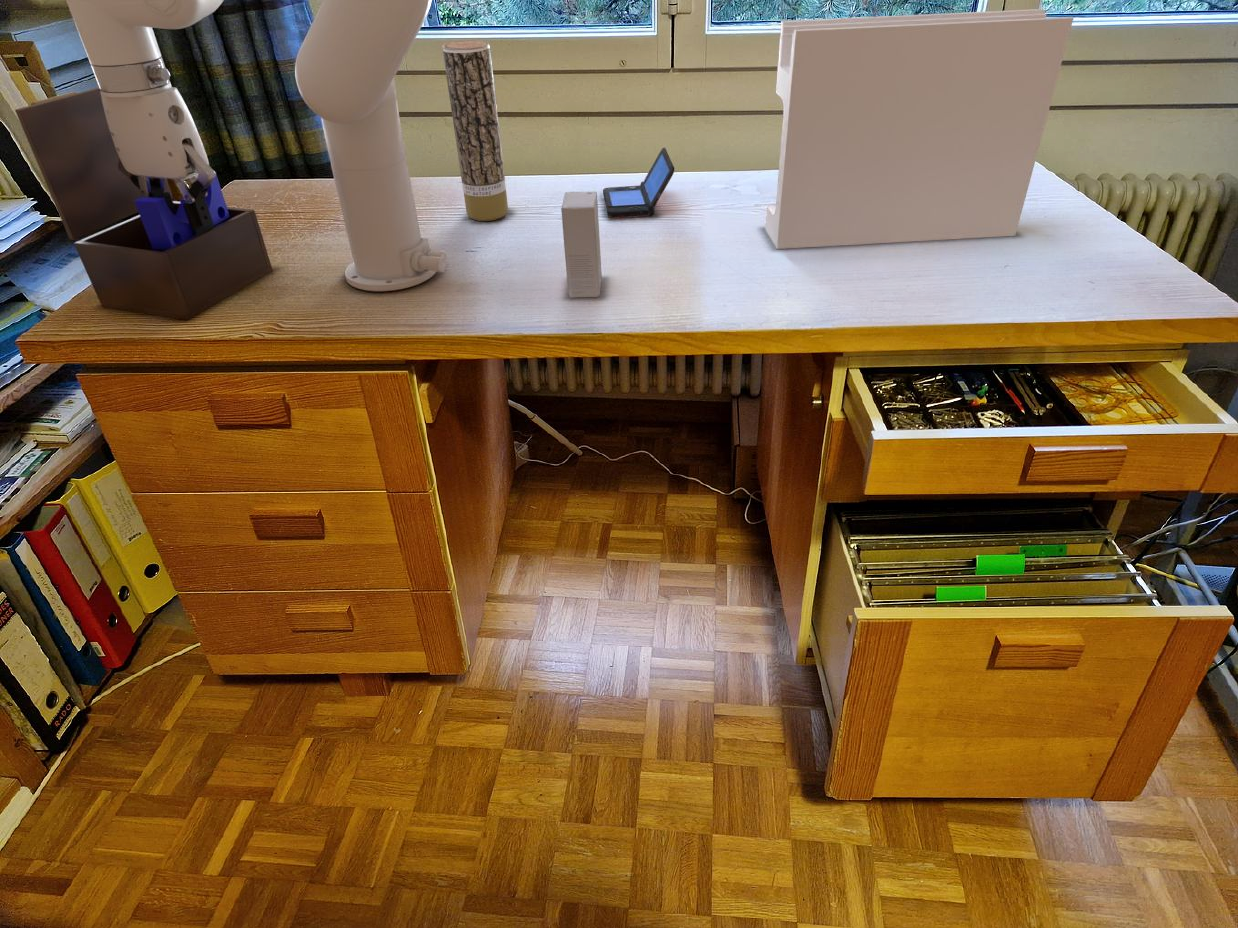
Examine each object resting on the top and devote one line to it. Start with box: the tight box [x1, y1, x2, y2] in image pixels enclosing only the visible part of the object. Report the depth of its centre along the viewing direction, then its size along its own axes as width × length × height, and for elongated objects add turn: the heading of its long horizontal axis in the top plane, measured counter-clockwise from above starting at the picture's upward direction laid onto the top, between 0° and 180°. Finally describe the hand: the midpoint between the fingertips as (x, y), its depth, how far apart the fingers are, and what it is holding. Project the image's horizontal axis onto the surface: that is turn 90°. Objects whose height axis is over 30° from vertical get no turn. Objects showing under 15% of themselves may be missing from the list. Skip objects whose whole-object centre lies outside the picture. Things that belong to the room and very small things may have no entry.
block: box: [764, 8, 1074, 250], centre depth 112 cm, size 35×8×28 cm, turn 94°
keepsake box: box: [73, 200, 274, 321], centre depth 110 cm, size 15×17×9 cm
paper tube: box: [441, 40, 509, 222], centre depth 125 cm, size 7×7×25 cm
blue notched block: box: [134, 171, 230, 250], centre depth 105 cm, size 12×4×6 cm, turn 168°
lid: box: [14, 86, 173, 240], centre depth 105 cm, size 16×17×5 cm
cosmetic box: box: [561, 190, 603, 299], centre depth 104 cm, size 6×4×12 cm
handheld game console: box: [602, 147, 675, 219], centre depth 132 cm, size 12×11×7 cm
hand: (186, 227), depth 106 cm, fingers closed on blue notched block, 5 cm apart
